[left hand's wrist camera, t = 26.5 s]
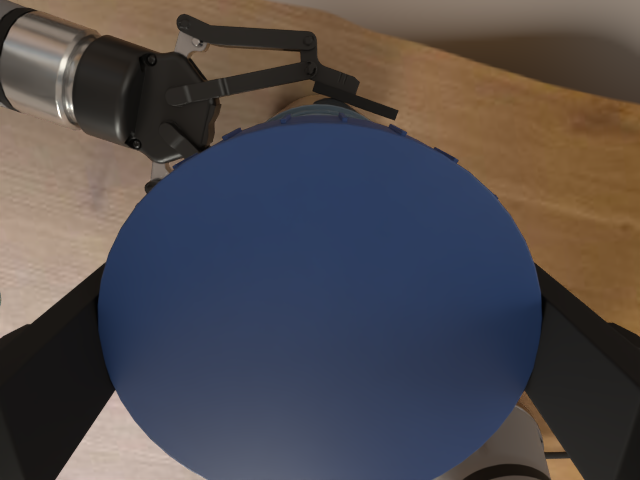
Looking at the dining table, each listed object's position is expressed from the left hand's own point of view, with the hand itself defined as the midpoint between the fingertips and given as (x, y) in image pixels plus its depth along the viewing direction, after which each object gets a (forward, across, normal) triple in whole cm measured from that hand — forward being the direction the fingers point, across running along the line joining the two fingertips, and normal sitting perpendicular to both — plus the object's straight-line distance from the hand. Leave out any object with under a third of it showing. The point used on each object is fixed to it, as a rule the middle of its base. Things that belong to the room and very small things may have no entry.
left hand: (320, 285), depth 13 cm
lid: (-3, 0, 0) cm, 3 cm away
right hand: (+22, -4, +1) cm, 22 cm away
